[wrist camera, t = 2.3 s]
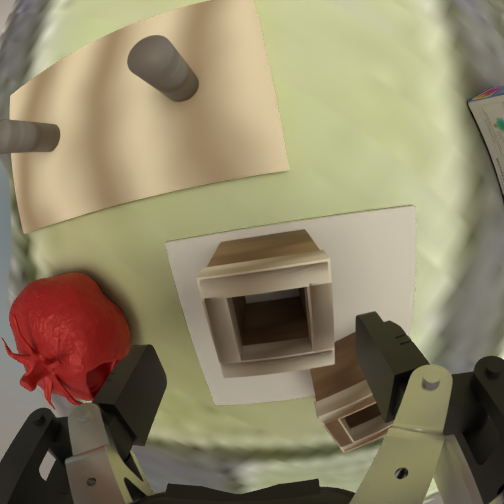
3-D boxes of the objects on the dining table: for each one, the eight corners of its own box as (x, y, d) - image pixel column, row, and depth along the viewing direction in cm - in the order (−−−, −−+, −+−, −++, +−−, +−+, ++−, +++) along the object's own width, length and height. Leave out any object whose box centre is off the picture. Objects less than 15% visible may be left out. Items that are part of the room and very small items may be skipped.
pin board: (252, 2, 12) (248, -55, 6) (287, 170, 16) (302, 169, 10) (19, 97, 14) (-32, 90, 8) (33, 230, 17) (-21, 252, 11)
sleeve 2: (371, 322, 18) (404, 375, 12) (387, 367, 19) (415, 419, 13) (305, 354, 19) (317, 417, 13) (329, 395, 20) (343, 452, 14)
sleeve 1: (306, 227, 16) (329, 258, 10) (314, 306, 18) (334, 364, 12) (218, 240, 17) (196, 278, 11) (235, 317, 18) (224, 378, 12)
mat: (412, 205, 16) (415, 205, 15) (401, 372, 20) (403, 375, 19) (166, 241, 17) (164, 243, 17) (215, 402, 21) (215, 405, 21)
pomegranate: (33, 289, 19) (-37, 335, 10) (96, 237, 17) (-2, 285, 8) (92, 377, 21) (44, 443, 12) (168, 352, 19) (120, 445, 10)
